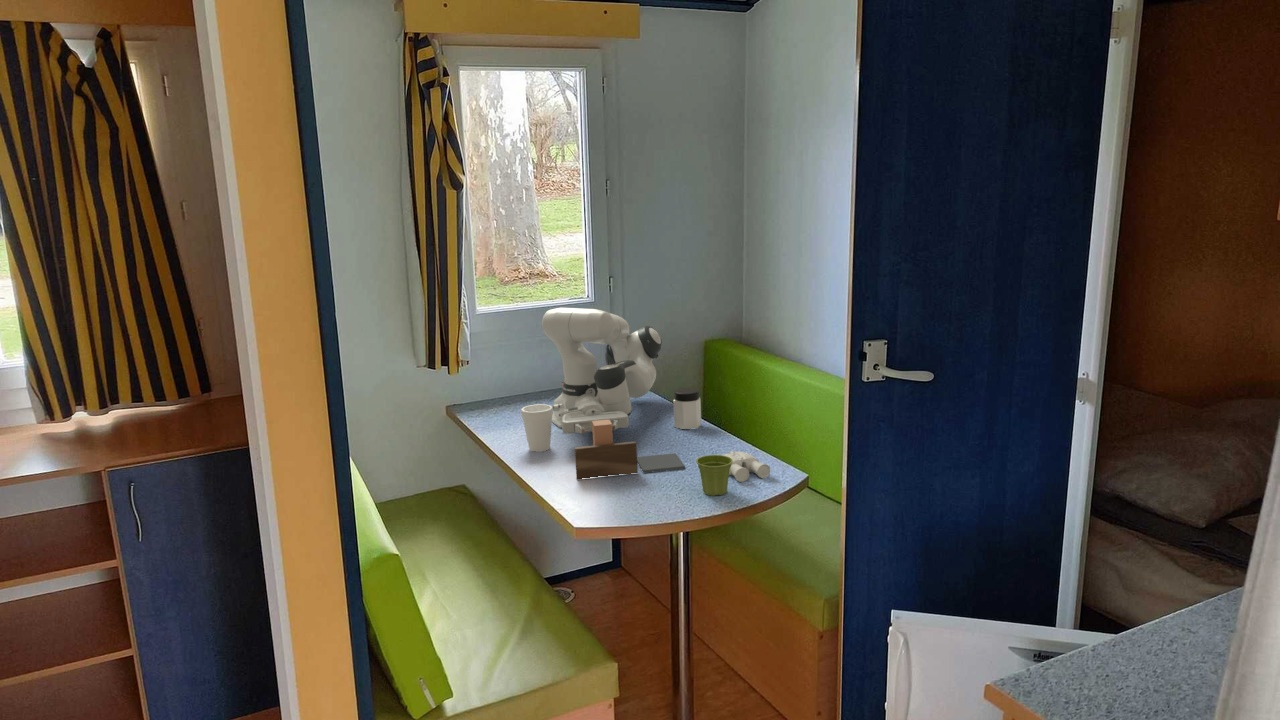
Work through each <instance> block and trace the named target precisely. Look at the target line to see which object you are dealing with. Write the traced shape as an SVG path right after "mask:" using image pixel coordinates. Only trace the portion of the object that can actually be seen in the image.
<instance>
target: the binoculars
mask: <svg viewBox="0 0 1280 720" xmlns="http://www.w3.org/2000/svg"><path fill="white" fill-rule="evenodd" d="M722 456H727V457H730V458H731V459H732V460H733V462H732V464H731V467H730V471H729V476H730V477H731V476H732V477H734V479H735V480H736V481H737V482H739V483H743V482H746V481H747V480H748V479H749V477H750V473H754V474H756V475H757V476H758V478H761V479H765V478H767V477H768V476H769V475H770V474H771V468H770V465H769V464H767V463H762V462H760V461H759V459H758V458H756V457H755V456H753V455H752V454H751V453H747V452H745V451H732V450H730V451H729V452H728V453H727V452H726V453H725V454H722Z"/></svg>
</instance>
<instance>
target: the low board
mask: <svg viewBox="0 0 1280 720" xmlns="http://www.w3.org/2000/svg"><path fill="white" fill-rule="evenodd" d="M637 449H638V448H637V442H636V441H626V442H618V443H613V444H604V445H594V446H593V445H585V446H576V447H574V456H575V457H574V461H575V475H576V476H575V477H576V480H577V479H582V478H590V477H598V476H608V475H619V474H631V473H639V472H638V463H637V457H638V452H637Z"/></svg>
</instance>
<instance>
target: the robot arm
mask: <svg viewBox="0 0 1280 720" xmlns="http://www.w3.org/2000/svg"><path fill="white" fill-rule="evenodd" d="M541 328H542V331H543V333H544V335H545V336H546V337H547V338H549V339H550V341H552V343H553V344H554V345H555V347H556V349H557V351H558V352H559V354H560V357H561V361H562V368H563V379H564V381H563V382H561V387H562V390H561V392H562V393H561V394H560V395H558V396H557V398H555V400H554V401H553V405H551V406H552V409H553V415H552V424H554V425H555V426H556V427H558V428H561V429H562V433H563V434H575V433H579V434H580V435H582V434H586V432H588V433H593V431H592V421H598V420H610V421H611V423H612V432H613V431H617V430H618V429H624V428H628V427H629V425H630V419H629V416H630V415H631V413H632V412H633V408H632V402H631V401H632V400H631V398H634V399H639V398H642V397H643V396H645V395H646V394H647V393H648V392H649V391H650V390H651V388H652V387H653V386H654V384H655V381H656V378H657V370H656V369H657V368H656V366H655V365H654V364H653V360H654V359H658V358H659V352H660V351H661V349H662V345H663V344H662V338H661V336H660V334H659V333H658V331H657V330H656V329H655V328H654V327H652V326H650V325H645V326H642V327H639V328H638V329H637V330H635V331H634V332H632V333H630V325H629V323H628V321H627V320H626V319H625V318H623V317H621V316H619V315H617V314H614V313H611V312H609V311H606V310H601V309H596V308H581V307H555V308H551V309H548V310H547V311H546V312H545V313H544V314H543V317H542V320H541ZM583 343H592V344H599V345H606V346H605V354H604V357H605V364H606V365H602V366H601V367H599V368H598V367H597V359H596V356H595V355H594V354H593V353H592V352H590V351H588V350H587V349H586V346H584V344H583Z"/></svg>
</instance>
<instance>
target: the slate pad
mask: <svg viewBox="0 0 1280 720" xmlns="http://www.w3.org/2000/svg"><path fill="white" fill-rule="evenodd" d="M638 464H639V465H638ZM637 465H638V467H639V466H640V467H639V468H640V470H641V469H642V470H641V472H642V471H643V472H649V473H653V472H652V471H658V472H666V470H668V471H675V470H684V469H686V468H685V467H686V465H685V464H684V463H683V462H682V460H681V458H680V457H679V456H678V454H677V453H676V452H674V453H665V454H664V453H663V454H654V455H653V454H651V455H645V456H637ZM643 472H642V473H643Z"/></svg>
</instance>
